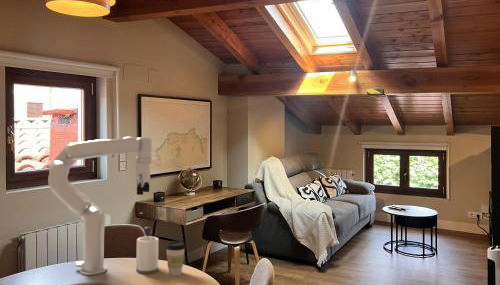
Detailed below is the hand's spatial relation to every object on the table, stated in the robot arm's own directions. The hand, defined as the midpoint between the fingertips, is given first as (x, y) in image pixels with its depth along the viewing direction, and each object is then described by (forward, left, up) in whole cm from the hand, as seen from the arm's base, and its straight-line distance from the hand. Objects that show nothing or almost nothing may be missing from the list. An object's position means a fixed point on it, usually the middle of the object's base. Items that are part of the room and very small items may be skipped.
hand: (143, 193), depth 220 cm
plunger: (+5, -9, -34) cm, 36 cm away
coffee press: (+5, -9, -38) cm, 39 cm away
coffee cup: (+20, -12, -38) cm, 45 cm away
